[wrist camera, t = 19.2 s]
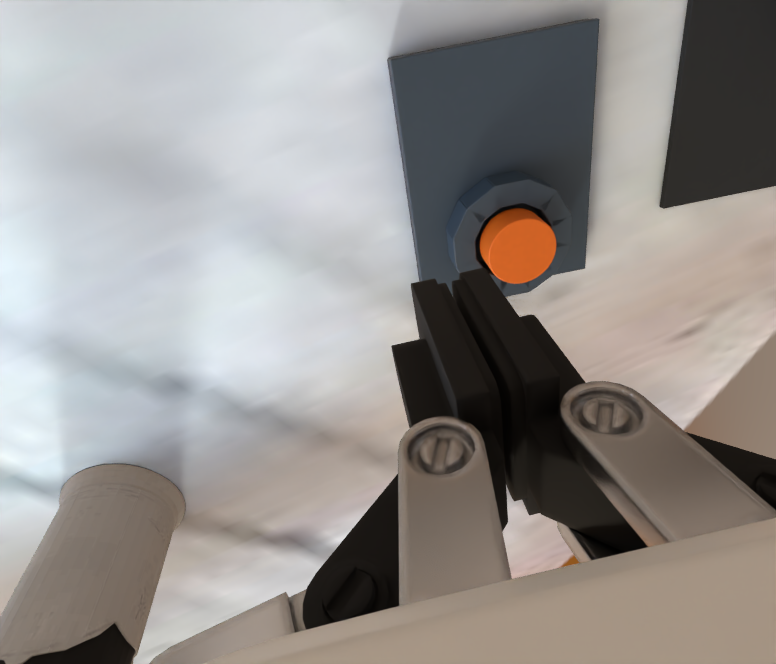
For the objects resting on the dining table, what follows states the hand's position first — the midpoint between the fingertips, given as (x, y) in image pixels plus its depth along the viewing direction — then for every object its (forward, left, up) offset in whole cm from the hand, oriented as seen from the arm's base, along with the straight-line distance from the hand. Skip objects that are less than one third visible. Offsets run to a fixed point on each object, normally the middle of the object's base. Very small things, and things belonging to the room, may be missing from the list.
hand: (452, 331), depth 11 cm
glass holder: (+24, -24, -18) cm, 38 cm away
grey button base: (+2, +6, -18) cm, 19 cm away
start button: (+5, +6, -15) cm, 17 cm away
